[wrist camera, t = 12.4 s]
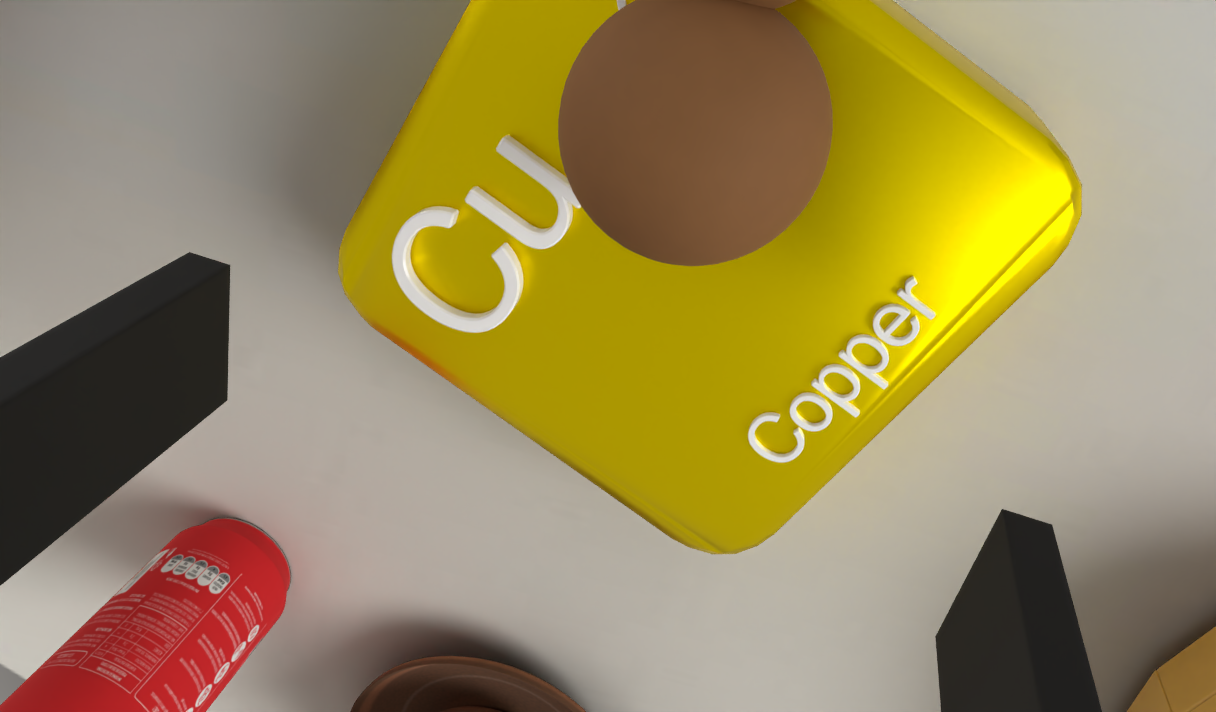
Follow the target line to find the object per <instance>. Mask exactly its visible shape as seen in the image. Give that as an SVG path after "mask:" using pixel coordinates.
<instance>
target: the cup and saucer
mask: <svg viewBox="0 0 1216 712" xmlns="http://www.w3.org/2000/svg"><path fill="white" fill-rule="evenodd" d="M351 712H586V711H585V710H584V709H583V708H582V707H581V706H579V705H578V704H577V703H576V702H575V701H574V700H572V699H571V698H570V697H568V696H567V695H566V694H565V693H563V692H562V691H560V690H559V689H557V688H556V687H554V686H553V685H551V684H549V683H547V682H546V681H544V680H542V679H540V678H538V677H536V676H534V675H532V674H530V673H528V672H526V671H523V670H521V669H518V668H515V667H513V666H509V665H506V664H503V663H500V662H495V661H491V660H487V659H481V658H474V657H462V656H436V657H427V658H421V659H416V660H413V661H409V662H406V663H403V664H401V665H398V666H396V667H394V668H392V669H390V670H388V671H387V672H385V673H383V674H382V675H381V676H379V677H378V678H377V679H375V680H374V681H373V682H372V683H371V684H370V685H369V686H368V687H367V688H366V689H365V690H364V691H363V692H362V693H361V695H360V696H359V697H358V699H357V700H356V702H355V703H354V705H353V707H352V709H351Z"/></svg>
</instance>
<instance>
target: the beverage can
mask: <svg viewBox="0 0 1216 712" xmlns="http://www.w3.org/2000/svg"><path fill="white" fill-rule="evenodd" d="M290 582H291V571H290V566H289V563H288V561H287V558H286V556H285V554H284V553H283V551H282V550H281V548H280V547H279V545H278V544H277V543H276V542H275V541H274V540H273V539H272V538H271V537H270V536H269V535H268V534H266V533H265V532H264V531H262V530H261V529H259V528H258V527H256V526H254V525H252V524H250V523H248V522H245V521H243V520H239V519H235V518H225V517H224V518H215V519H212V520H209V521H207V522H205V523H204V524H202V525H198V526H194V527H191V528H188V529H185V530H184V531H182V532H180V533H179V534H178V535H177V536H175V537H174V538H173V539H172V540H171V541H170V542H169V543H168V544H167V545H166V546H165V547H164V548H163V549H162V550H161V551H160V552H159V553H158V554H157V555H156V556H155V557H154V558H153V559H152V560H150V561H149V562H148V563H147V564H146V565H145V566H144V567H143V568H142V569H141V570H140V571H139V572H138V573H137V574H136V575H135V576H134V577H133V578H132V579H131V580H130V581H129V582H128V583H127V584H126V585H125V586H124V587H123V588H121V589H120V590H119V591H118V592H117V593H116V594H115V595H114V596H113V597H112V598H111V599H110V600H109V601H108V602H107V603H106V604H105V605H104V606H103V607H102V608H101V609H100V610H99V611H98V612H97V613H96V614H95V615H93V616H92V617H91V618H90V619H89V620H88V621H87V622H86V623H85V624H84V625H83V626H82V627H81V628H80V629H79V630H78V631H77V632H76V633H75V634H74V635H73V636H72V637H71V638H70V639H69V640H68V641H67V642H65V643H64V644H63V645H62V646H61V647H60V648H59V649H58V650H57V651H56V652H55V653H54V654H53V655H52V656H51V657H50V658H49V659H48V660H47V661H46V662H45V663H44V664H43V665H42V666H41V667H40V668H39V669H37V670H36V671H35V672H34V673H33V674H32V675H31V676H30V677H29V678H28V679H27V680H26V681H25V682H24V683H23V684H22V685H21V686H20V687H19V688H18V689H17V690H16V691H15V692H14V693H13V694H12V695H11V696H9V697H8V698H7V699H6V700H5V702H3V703H2V704H1V705H0V712H206V711H207V709H208V708H209V707H210V706H211V704H212V703H213V702H214V700H215V699H216V698H217V697H218V695H219V694H220V693H221V691H222V690H223V689H224V688H225V686H226V685H227V684H228V683H229V681H230V680H231V679H232V677H233V676H234V675H235V674H236V672H237V671H238V670H239V669H240V667H241V666H242V665H243V663H244V662H245V661H246V660H247V658H248V657H249V656H250V654H251V653H252V652H253V651H254V649H255V648H256V647H257V646H258V644H259V643H260V642H261V640H262V639H263V638H264V637H265V635H266V634H267V633H268V631H269V630H270V629H271V628H272V626H273V625H274V624H275V623H276V621H277V620H278V619H279V617H280V616H281V614H282V612H283V610H284V607H285V602H286V593H287V591H288V589H289V586H290Z"/></svg>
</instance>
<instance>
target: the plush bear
mask: <svg viewBox="0 0 1216 712" xmlns="http://www.w3.org/2000/svg"><path fill="white" fill-rule="evenodd" d="M794 1H796V0H635V1H633V2H631V3H630V4H628V5H626V6H624V7H623V8H621V9H620V10H619V11H617V12H616V13H615V14H613V15H612V16H611V17H609V18H608V19H607V20H606V21H605V22H604V23H603V24H602V25H601V26H600V27H599V28H598V29H597V30H596V31H595V32H594V33H593V34H592V36H591V37H590V38H589V39H588V41H587V42H586V43H585V45H584V46H583V47H582V49H581V51H580V52H579V54H578V56H577V58H576V59H575V61H574V63H573V65H572V67H571V70H570V72H569V75H568V77H567V79H566V82H565V86H564V90H563V93H562V97H561V103H560V110H559V118H558V140H559V148H560V156H561V160H562V163H563V167H564V171H565V174H566V176H567V179H568V181H569V184H570V186H571V189H572V191H573V193H574V195H575V196H576V198H577V200H578V202H579V203H580V205H581V207H582V208H583V209H584V211H585V212H586V213H587V214H588V216H589V217H590V218H591V220H592V221H593V222H594V223H595V224H596V225H597V226H598V227H599V228H600V229H601V230H602V231H603V232H604V233H605V234H606V235H608V236H609V237H610V238H611V239H613V240H614V241H616V242H617V243H619V244H620V245H622V246H623V247H625V248H626V249H628V250H630V251H632V252H634V253H636V254H639V255H641V256H643V257H646V258H648V259H651V260H654V261H658V262H662V263H666V264H672V265H681V266H704V265H713V264H719V263H723V262H727V261H731V260H734V259H738V258H740V257H742V256H745V255H747V254H749V253H752V252H754V251H756V250H758V249H759V248H761V247H763V246H764V245H766V244H768V243H769V242H771V241H772V240H774V239H775V238H776V237H777V236H779V235H780V234H781V233H782V232H784V231H785V230H786V229H787V228H788V227H789V226H790V225H791V224H792V223H793V222H794V221H795V219H796V218H797V217H798V216H799V215H800V214H801V213H802V211H803V210H804V209H805V207H806V206H807V204H808V203H809V202H810V200H811V198H812V197H813V195H814V193H815V191H816V189H817V188H818V186H819V184H820V181H821V179H822V176H823V173H824V171H825V168H826V165H827V161H828V157H829V153H830V148H831V140H832V131H833V111H832V103H831V97H830V91H829V87H828V84H827V81H826V77H825V74H824V71H823V69H822V67H821V65H820V62H819V60H818V58H817V56H816V54H815V53H814V51H813V49H812V48H811V46H810V45H809V43H808V41H807V40H806V39H805V38H804V36H803V35H802V34H801V33H800V32H799V30H798V29H797V28H796V27H795V26H794V25H793V24H792V23H791V22H790V21H789V20H788V19H787V18H786V17H784V16H783V15H782V14H781V13H780V12H778V11H777V10H775V9H776V8H780V7H782V6H785V5H787V4H790V3H792V2H794Z"/></svg>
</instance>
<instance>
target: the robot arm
mask: <svg viewBox="0 0 1216 712" xmlns="http://www.w3.org/2000/svg"><path fill="white" fill-rule="evenodd" d="M229 295H230V265H228V264H225V263H222V262H219V261H215V260H212V259H209V258H206V257H203V256H200V255H196V254H193V253H190V252H189V253H187V254H185V255H184V256H182V257H180V258H178V259H176V260H175V261H173V262H171V263H169V264H167V265H166V266H164V267H162V268H160V269H158V270H157V271H155V272H153V273H151V274H150V275H148V276H146V277H144V278H142V279H141V280H139V281H137V282H135V283H133V284H132V285H130V286H128V287H126V288H124V289H123V290H121V291H119V292H117V293H115V294H114V295H112V296H110V297H108V298H106V299H105V300H103V301H101V302H99V303H97V304H96V305H94V306H92V307H90V308H88V309H87V310H85V311H83V312H81V313H79V314H78V315H76V316H74V317H72V318H70V319H69V320H67V321H65V322H63V323H61V324H60V325H58V326H56V327H54V328H52V329H51V330H49V331H47V332H45V333H44V334H42V335H40V336H38V337H36V338H35V339H33V340H31V341H29V342H27V343H26V344H24V345H22V346H20V347H18V348H17V349H15V350H13V351H11V352H9V353H8V354H6V355H4V356H2V357H0V585H2V584H3V583H4V582H5V581H7V580H8V579H9V578H10V577H11V576H13V575H14V574H15V573H16V572H18V571H19V570H20V569H21V568H22V567H24V566H25V565H26V564H27V563H29V562H30V561H31V560H32V559H33V558H35V557H36V556H37V555H38V554H40V553H41V552H42V551H43V550H44V549H46V548H47V547H48V546H49V545H51V544H52V543H53V542H54V541H55V540H57V539H58V538H59V537H60V536H62V535H63V534H64V533H65V532H67V531H68V530H69V529H70V528H71V527H73V526H74V525H75V524H76V523H78V522H79V521H80V520H81V519H82V518H84V517H85V516H86V515H87V514H89V513H90V512H91V511H92V510H93V509H95V508H96V507H97V506H98V505H100V504H101V503H102V502H103V501H104V500H106V499H107V498H108V497H109V496H111V495H112V494H113V493H114V492H115V491H117V490H118V489H119V488H120V487H122V486H123V485H124V484H125V483H127V482H128V481H129V480H130V479H131V478H133V477H134V476H135V475H136V474H138V473H139V472H140V471H141V470H142V469H144V468H145V467H146V466H147V465H149V464H150V463H151V462H152V461H153V460H155V459H156V458H157V457H158V456H160V455H161V454H162V453H163V452H164V451H166V450H167V449H168V448H169V447H171V446H172V445H173V444H174V443H175V442H177V441H178V440H179V439H180V438H182V437H183V436H184V435H185V434H186V433H188V432H189V431H190V430H191V429H193V428H194V427H195V426H196V425H198V424H199V423H200V422H201V421H202V420H204V419H205V418H206V417H207V416H209V415H210V414H211V413H212V412H213V411H215V410H216V409H217V408H218V407H220V406H221V405H222V404H223V403H224V402H226V401H227V390H228V343H229ZM936 648H937V661H938V674H939V687H940V700H941V712H1102V710H1101V706H1100V703H1099V699H1098V695H1097V691H1096V688H1095V684H1094V680H1093V676H1092V673H1091V669H1090V665H1089V661H1088V658H1087V654H1086V650H1085V646H1084V643H1083V639H1082V635H1081V631H1080V628H1079V624H1078V620H1077V616H1076V613H1075V609H1074V605H1073V601H1072V598H1071V594H1070V590H1069V587H1068V583H1067V579H1066V575H1065V572H1064V568H1063V564H1062V560H1061V557H1060V553H1059V549H1058V545H1057V542H1056V538H1055V534H1054V530H1053V527H1052V525H1051V524H1048V523H1045V522H1042V521H1038V520H1035V519H1032V518H1029V517H1026V516H1023V515H1019V514H1016V513H1013V512H1010V511H1007V510H1004V509H1002V510H1001V512H1000V514H999V516H998V518H997V520H996V522H995V524H994V526H993V528H992V529H991V531H990V533H989V535H988V537H987V539H986V541H985V543H984V545H983V547H982V549H981V551H980V552H979V554H978V556H977V558H976V560H975V562H974V564H973V566H972V568H971V570H970V572H969V574H968V575H967V577H966V579H965V581H964V583H963V585H962V587H961V589H960V591H959V593H958V595H957V596H956V598H955V600H954V602H953V604H952V606H951V608H950V610H949V612H948V614H947V616H946V618H945V619H944V621H943V623H942V625H941V627H940V629H939V631H938V633H937V635H936Z"/></svg>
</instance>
